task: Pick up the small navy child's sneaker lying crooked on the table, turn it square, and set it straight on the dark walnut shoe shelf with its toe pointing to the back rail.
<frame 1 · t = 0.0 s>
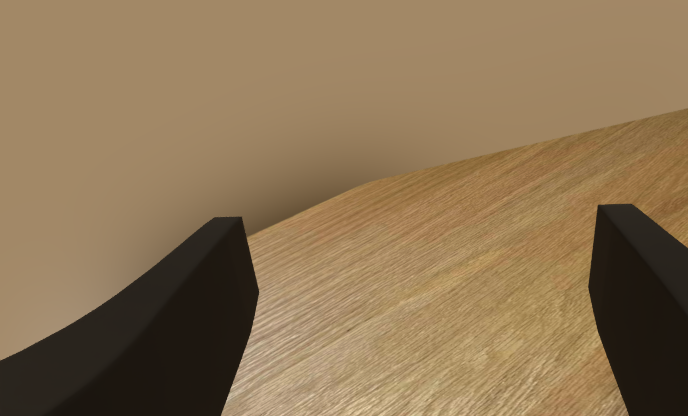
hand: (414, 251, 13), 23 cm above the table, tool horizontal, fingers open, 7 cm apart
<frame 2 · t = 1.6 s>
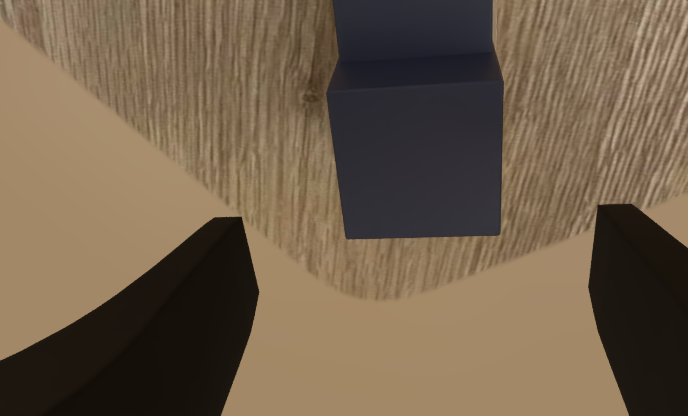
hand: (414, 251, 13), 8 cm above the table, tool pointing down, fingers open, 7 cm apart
child sneaker: (420, 95, 20), on the table
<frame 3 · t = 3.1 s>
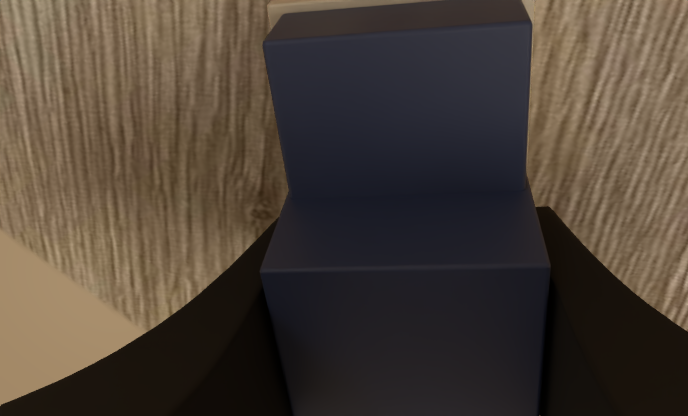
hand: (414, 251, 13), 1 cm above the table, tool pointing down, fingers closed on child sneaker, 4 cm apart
child sneaker: (414, 214, 14), on the table, touching gripper
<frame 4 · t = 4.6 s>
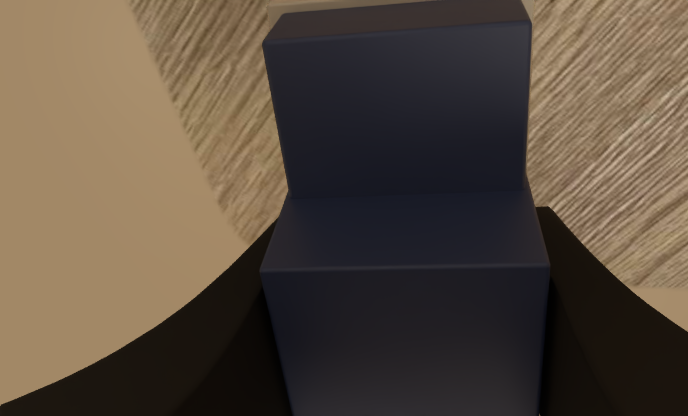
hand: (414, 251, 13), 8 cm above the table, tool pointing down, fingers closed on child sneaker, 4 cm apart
child sneaker: (414, 214, 14), point 7 cm above the table, touching gripper
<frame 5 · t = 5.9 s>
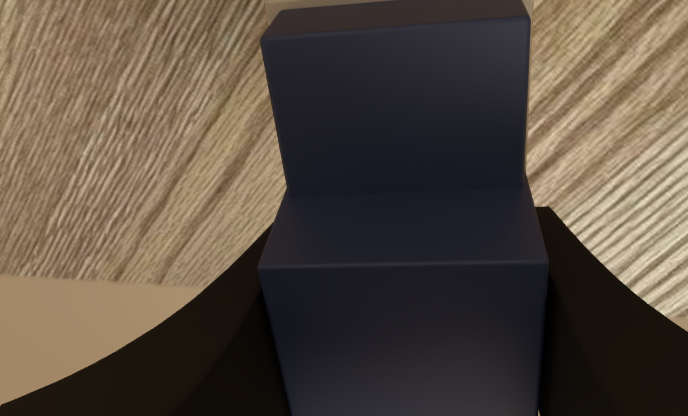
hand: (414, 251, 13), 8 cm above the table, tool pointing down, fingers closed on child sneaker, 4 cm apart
child sneaker: (413, 212, 14), point 7 cm above the table, touching gripper
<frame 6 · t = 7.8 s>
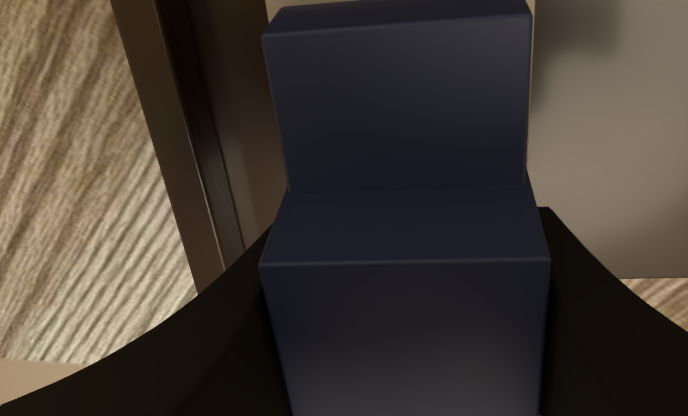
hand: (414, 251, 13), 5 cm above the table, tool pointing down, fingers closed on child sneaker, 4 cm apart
child sneaker: (413, 210, 14), point 4 cm above the table, touching gripper
shoe shelf: (461, 41, 16), on the table
when the fingers open (3 cm above the table, at t = 8.8 s): child sneaker stays where it is, resting on shoe shelf.
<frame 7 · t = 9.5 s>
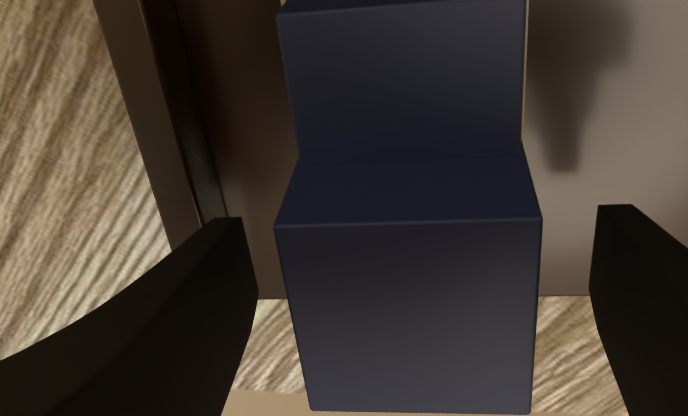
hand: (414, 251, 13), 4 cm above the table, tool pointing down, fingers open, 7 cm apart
child sneaker: (416, 187, 15), point 2 cm above the table, touching shoe shelf
shoe shelf: (464, 49, 15), on the table
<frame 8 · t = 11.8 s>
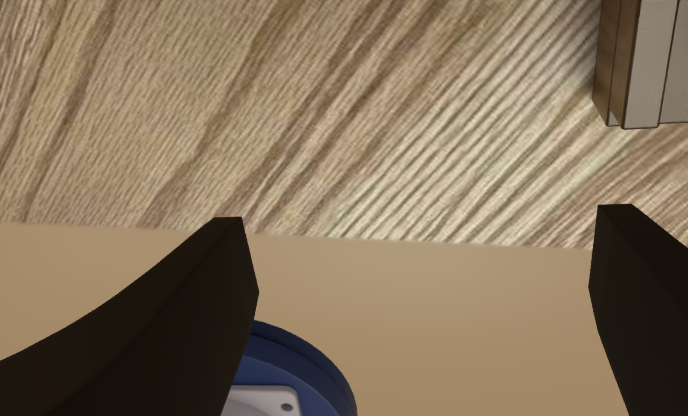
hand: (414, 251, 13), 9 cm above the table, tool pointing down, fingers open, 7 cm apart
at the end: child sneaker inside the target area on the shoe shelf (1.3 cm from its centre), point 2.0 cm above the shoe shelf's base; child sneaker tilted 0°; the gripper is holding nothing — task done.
